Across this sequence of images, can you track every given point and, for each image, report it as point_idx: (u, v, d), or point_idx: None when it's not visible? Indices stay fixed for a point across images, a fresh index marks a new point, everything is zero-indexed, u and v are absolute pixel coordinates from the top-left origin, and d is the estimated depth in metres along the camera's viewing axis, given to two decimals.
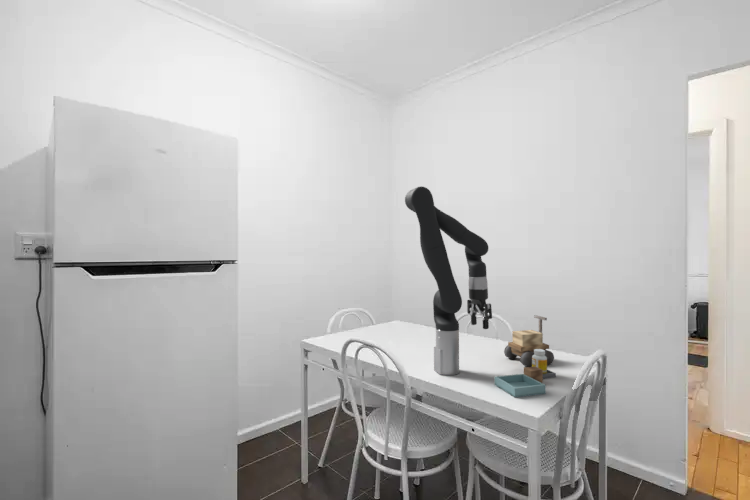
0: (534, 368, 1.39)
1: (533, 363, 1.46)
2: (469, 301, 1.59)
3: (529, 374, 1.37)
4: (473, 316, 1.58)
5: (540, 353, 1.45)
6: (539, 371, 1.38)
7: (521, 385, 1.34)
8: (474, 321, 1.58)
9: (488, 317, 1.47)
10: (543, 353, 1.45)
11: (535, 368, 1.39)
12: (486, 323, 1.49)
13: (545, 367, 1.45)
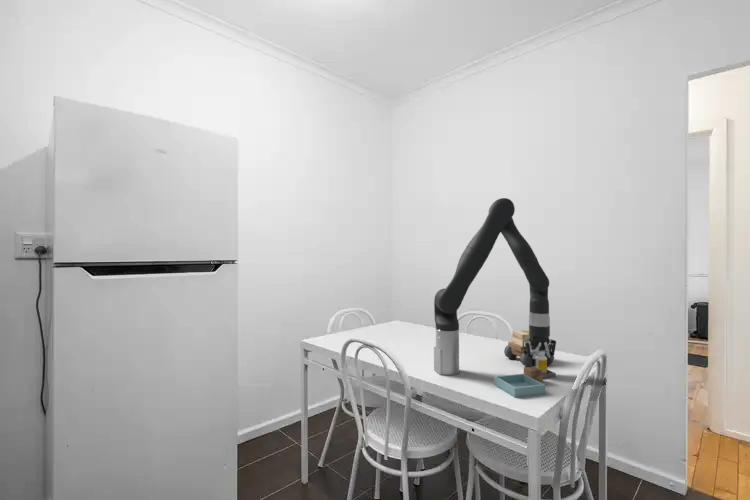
0: (534, 368, 1.39)
1: None
2: None
3: (529, 374, 1.37)
4: None
5: (540, 353, 1.45)
6: (539, 371, 1.38)
7: (521, 385, 1.34)
8: None
9: None
10: (543, 353, 1.45)
11: (535, 368, 1.39)
12: None
13: (545, 367, 1.45)
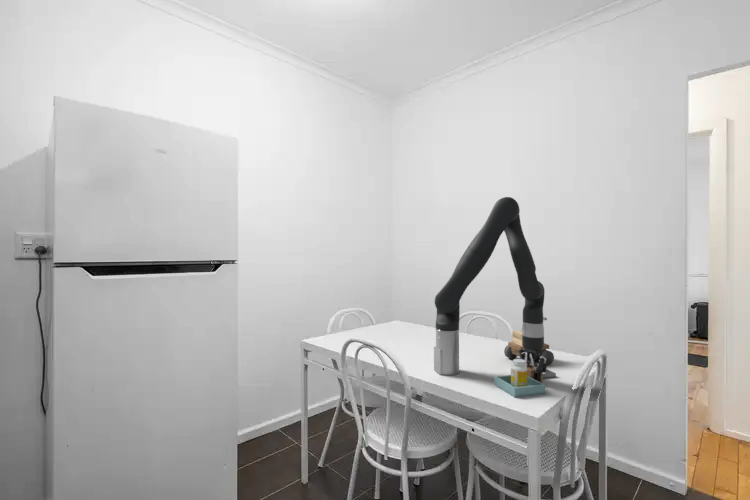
0: None
1: (512, 374, 1.31)
2: None
3: (529, 374, 1.37)
4: None
5: (519, 363, 1.30)
6: None
7: None
8: None
9: None
10: (523, 363, 1.30)
11: None
12: None
13: (525, 379, 1.30)
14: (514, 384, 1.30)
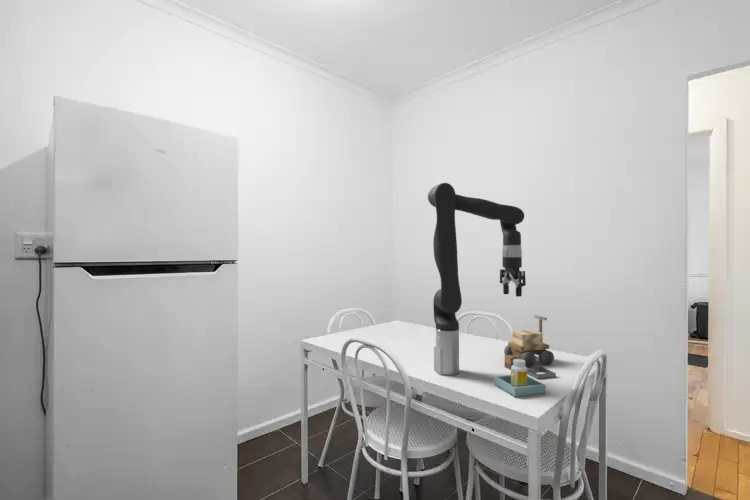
0: (514, 355, 1.56)
1: (512, 374, 1.31)
2: None
3: (509, 361, 1.54)
4: None
5: (519, 363, 1.30)
6: (518, 358, 1.54)
7: None
8: None
9: None
10: (523, 363, 1.30)
11: (514, 355, 1.56)
12: None
13: (525, 379, 1.30)
14: (514, 384, 1.30)
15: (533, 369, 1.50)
